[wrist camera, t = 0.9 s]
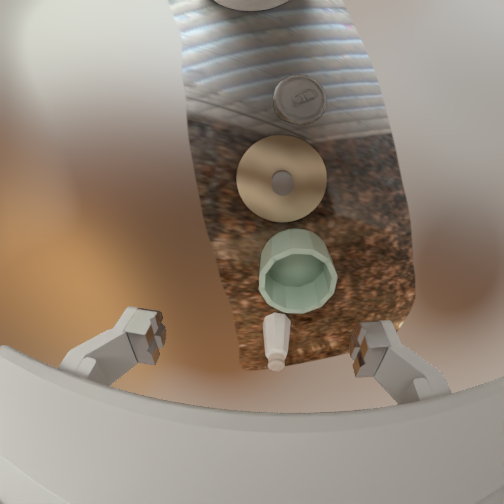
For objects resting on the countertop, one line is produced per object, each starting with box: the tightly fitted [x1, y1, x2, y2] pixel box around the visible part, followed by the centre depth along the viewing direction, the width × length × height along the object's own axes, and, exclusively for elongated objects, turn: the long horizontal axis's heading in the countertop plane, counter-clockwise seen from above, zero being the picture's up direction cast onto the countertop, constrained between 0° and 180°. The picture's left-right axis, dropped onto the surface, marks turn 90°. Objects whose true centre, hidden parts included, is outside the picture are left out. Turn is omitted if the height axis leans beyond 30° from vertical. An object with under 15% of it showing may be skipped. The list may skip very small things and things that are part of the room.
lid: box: [236, 135, 327, 222], centre depth 37 cm, size 13×13×4 cm
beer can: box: [273, 75, 327, 125], centre depth 28 cm, size 5×5×12 cm
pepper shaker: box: [263, 312, 291, 371], centre depth 46 cm, size 5×5×11 cm
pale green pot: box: [259, 228, 338, 314], centre depth 41 cm, size 11×11×7 cm
